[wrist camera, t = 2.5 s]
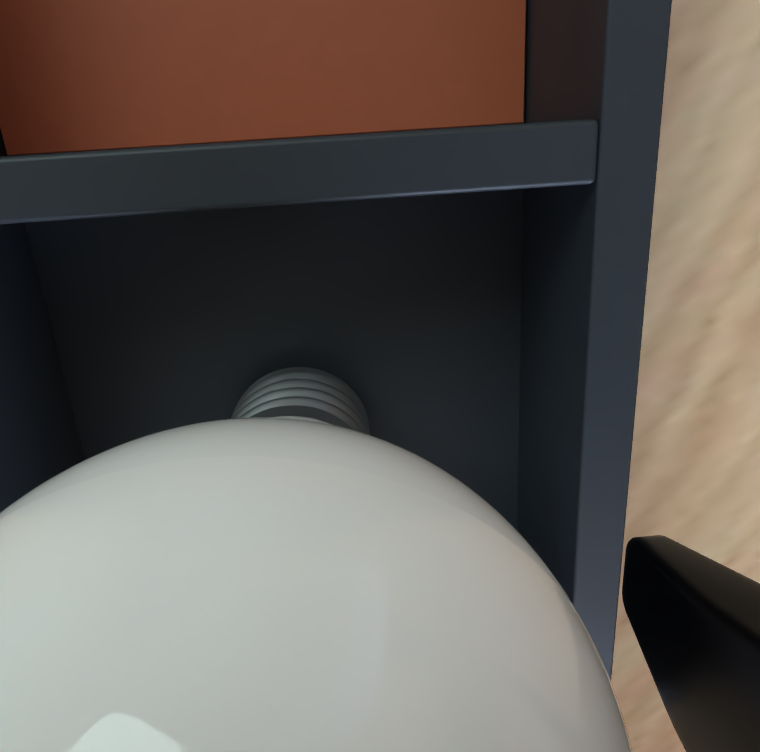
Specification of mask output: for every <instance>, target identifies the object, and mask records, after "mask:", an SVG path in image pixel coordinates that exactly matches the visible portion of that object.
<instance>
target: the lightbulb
mask: <svg viewBox="0 0 760 752" xmlns="http://www.w3.org/2000/svg"><path fill="white" fill-rule="evenodd" d="M0 752H632V748H631V744H630V740H629V736H628V733H627V729H626V726H625V723H624V719H623V716H622V713H621V710H620V706H619V703H618V700H617V698H616V695H615V692H614V689H613V687H612V684H611V681H610V679H609V676H608V674H607V671H606V669H605V667H604V664H603V662H602V659H601V657H600V655H599V653H598V651H597V649H596V647H595V644H594V642H593V640H592V638H591V636H590V634H589V632H588V630H587V629H586V627H585V625H584V623H583V621H582V619H581V618H580V616H579V614H578V612H577V610H576V609H575V607H574V605H573V604H572V602H571V600H570V599H569V597H568V596H567V594H566V593H565V591H564V589H563V588H562V586H561V585H560V583H559V582H558V580H557V579H556V578H555V576H554V575H553V573H552V572H551V571H550V569H549V568H548V567H547V565H546V564H545V562H544V561H543V560H542V559H541V557H540V556H539V555H538V554H537V552H536V551H535V550H534V549H533V548H532V546H531V545H530V544H529V543H528V542H527V541H526V539H525V538H524V537H523V536H522V535H521V534H520V533H519V532H518V531H517V530H516V529H515V528H514V527H513V526H512V525H511V524H510V523H509V522H508V521H507V520H506V519H505V518H504V517H503V516H502V515H501V514H500V513H499V512H498V511H497V510H496V509H495V508H494V507H493V506H491V505H490V504H489V503H488V502H487V501H486V500H484V499H483V498H482V497H481V496H480V495H478V494H477V493H476V492H475V491H473V490H472V489H471V488H469V487H468V486H467V485H465V484H464V483H462V482H461V481H460V480H458V479H457V478H455V477H454V476H452V475H451V474H449V473H448V472H446V471H445V470H443V469H442V468H440V467H438V466H437V465H435V464H433V463H431V462H430V461H428V460H426V459H424V458H422V457H420V456H418V455H416V454H414V453H412V452H410V451H408V450H406V449H404V448H402V447H400V446H397V445H395V444H393V443H390V442H388V441H385V440H383V439H380V438H377V437H374V436H371V435H370V428H369V421H368V416H367V413H366V410H365V408H364V405H363V404H362V402H361V400H360V399H359V397H358V396H357V394H356V393H355V392H354V391H353V390H352V389H351V388H350V387H349V386H348V385H347V384H346V383H345V382H343V381H342V380H341V379H339V378H337V377H336V376H334V375H332V374H330V373H327V372H325V371H322V370H318V369H314V368H308V367H292V368H285V369H280V370H277V371H274V372H271V373H269V374H267V375H265V376H263V377H261V378H260V379H258V380H257V381H255V382H254V383H253V384H252V385H251V386H250V387H249V388H248V389H247V390H246V391H245V392H244V393H243V395H242V396H241V398H240V399H239V401H238V403H237V405H236V407H235V409H234V411H233V414H232V417H231V419H222V420H214V421H206V422H200V423H194V424H189V425H184V426H180V427H175V428H171V429H167V430H163V431H160V432H156V433H152V434H149V435H146V436H143V437H140V438H137V439H134V440H131V441H128V442H126V443H123V444H120V445H118V446H115V447H112V448H110V449H108V450H105V451H103V452H101V453H98V454H96V455H94V456H92V457H90V458H88V459H86V460H84V461H82V462H80V463H77V464H75V465H73V466H72V467H70V468H68V469H66V470H64V471H63V472H61V473H59V474H57V475H55V476H54V477H52V478H50V479H48V480H47V481H45V482H44V483H42V484H40V485H39V486H37V487H35V488H34V489H32V490H31V491H29V492H28V493H26V494H25V495H23V496H22V497H21V498H19V499H18V500H16V501H15V502H13V503H12V504H10V505H9V506H8V507H6V508H5V509H4V510H3V511H1V512H0Z"/></svg>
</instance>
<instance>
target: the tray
mask: <svg viewBox="0 0 760 752" xmlns="http://www.w3.org/2000/svg"><path fill="white" fill-rule="evenodd" d="M671 3H672V0H0V512H1V511H3V510H4V509H5V508H6V507H8V506H9V505H10V504H12V503H13V502H15V501H16V500H18V499H19V498H21V497H22V496H23V495H25V494H26V493H28V492H29V491H31V490H32V489H34V488H35V487H37V486H39V485H40V484H42V483H44V482H45V481H47V480H48V479H50V478H52V477H54V476H55V475H57V474H59V473H61V472H63V471H64V470H66V469H68V468H70V467H72V466H73V465H75V464H77V463H80V462H82V461H84V460H86V459H88V458H90V457H92V456H94V455H96V454H98V453H101V452H103V451H105V450H108V449H110V448H112V447H115V446H118V445H120V444H123V443H126V442H128V441H131V440H134V439H137V438H140V437H143V436H146V435H149V434H152V433H156V432H160V431H163V430H167V429H171V428H175V427H180V426H184V425H189V424H194V423H200V422H206V421H214V420H222V419H231V417H232V414H233V411H234V409H235V407H236V405H237V403H238V401H239V399H240V398H241V396H242V395H243V393H244V392H245V391H246V390H247V389H248V388H249V387H250V386H251V385H252V384H253V383H254V382H255V381H257V380H258V379H260V378H261V377H263V376H265V375H267V374H269V373H271V372H274V371H277V370H280V369H285V368H292V367H308V368H314V369H318V370H322V371H325V372H327V373H330V374H332V375H334V376H336V377H337V378H339V379H341V380H342V381H343V382H345V383H346V384H347V385H348V386H349V387H350V388H351V389H352V390H353V391H354V392H355V393H356V394H357V396H358V397H359V399H360V400H361V402H362V404H363V405H364V408H365V410H366V413H367V416H368V421H369V428H370V435H371V436H374V437H377V438H380V439H383V440H385V441H388V442H390V443H393V444H395V445H397V446H400V447H402V448H404V449H406V450H408V451H410V452H412V453H414V454H416V455H418V456H420V457H422V458H424V459H426V460H428V461H430V462H431V463H433V464H435V465H437V466H438V467H440V468H442V469H443V470H445V471H446V472H448V473H449V474H451V475H452V476H454V477H455V478H457V479H458V480H460V481H461V482H462V483H464V484H465V485H467V486H468V487H469V488H471V489H472V490H473V491H475V492H476V493H477V494H478V495H480V496H481V497H482V498H483V499H484V500H486V501H487V502H488V503H489V504H490V505H491V506H493V507H494V508H495V509H496V510H497V511H498V512H499V513H500V514H501V515H502V516H503V517H504V518H505V519H506V520H507V521H508V522H509V523H510V524H511V525H512V526H513V527H514V528H515V529H516V530H517V531H518V532H519V533H520V534H521V535H522V536H523V537H524V538H525V539H526V541H527V542H528V543H529V544H530V545H531V546H532V548H533V549H534V550H535V551H536V552H537V554H538V555H539V556H540V557H541V559H542V560H543V561H544V562H545V564H546V565H547V567H548V568H549V569H550V571H551V572H552V573H553V575H554V576H555V578H556V579H557V580H558V582H559V583H560V585H561V586H562V588H563V589H564V591H565V593H566V594H567V596H568V597H569V599H570V600H571V602H572V604H573V605H574V607H575V609H576V610H577V612H578V614H579V616H580V618H581V619H582V621H583V623H584V625H585V627H586V629H587V630H588V632H589V634H590V636H591V638H592V640H593V642H594V644H595V647H596V649H597V651H598V653H599V655H600V657H601V659H602V662H603V664H604V667H605V669H606V671H607V674H608V676H609V679H610V681H611V674H612V662H613V651H614V640H615V629H616V618H617V606H618V595H619V584H620V573H621V562H622V551H623V539H624V528H625V517H626V506H627V495H628V484H629V472H630V461H631V450H632V439H633V428H634V416H635V405H636V394H637V383H638V372H639V361H640V349H641V338H642V327H643V316H644V305H645V294H646V282H647V271H648V260H649V249H650V238H651V227H652V215H653V204H654V193H655V182H656V171H657V159H658V148H659V137H660V126H661V115H662V104H663V92H664V81H665V70H666V59H667V48H668V37H669V25H670V14H671Z"/></svg>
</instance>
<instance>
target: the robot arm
mask: <svg viewBox="0 0 760 752" xmlns="http://www.w3.org/2000/svg"><path fill="white" fill-rule="evenodd" d="M622 597H623V603H624V607H625V610H626V613H627V616H628V618H629V620H630V623H631V625H632V628H633V630H634V633H635V635H636V637H637V640H638V642H639V645H640V647H641V650H642V652H643V654H644V657H645V659H646V662H647V664H648V667H649V669H650V671H651V674H652V676H653V679H654V681H655V684H656V686H657V688H658V691H659V693H660V696H661V698H662V701H663V703H664V705H665V708H666V710H667V712H668V715H669V717H670V719H671V722H672V724H673V726H674V728H675V730H676V732H677V734H678V736H679V738H680V740H681V742H682V744H683V746H684V748H685V750H686V752H760V584H759V583H757V582H755V581H753V580H751V579H749V578H747V577H745V576H743V575H741V574H739V573H737V572H735V571H733V570H731V569H729V568H727V567H725V566H723V565H721V564H719V563H717V562H715V561H713V560H711V559H709V558H707V557H705V556H703V555H701V554H699V553H697V552H695V551H693V550H691V549H689V548H687V547H685V546H683V545H681V544H679V543H677V542H675V541H673V540H671V539H669V538H667V537H665V536H661V535H655V536H645V537H634V538H632V539H631V540H630V541H629V542H628V544H627V547H626V555H625V566H624V576H623V587H622Z"/></svg>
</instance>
